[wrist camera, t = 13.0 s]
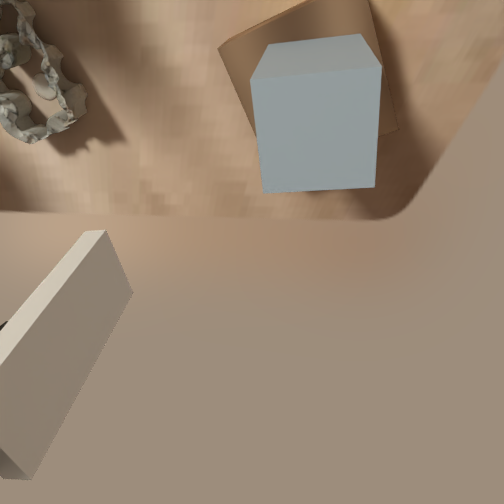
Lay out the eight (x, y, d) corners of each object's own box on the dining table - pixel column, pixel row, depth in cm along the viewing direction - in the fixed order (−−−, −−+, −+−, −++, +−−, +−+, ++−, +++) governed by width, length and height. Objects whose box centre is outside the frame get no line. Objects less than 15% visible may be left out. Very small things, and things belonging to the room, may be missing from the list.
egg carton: (102, 110, 36) (81, 125, 33) (40, 138, 39) (14, 154, 35) (23, -22, 31) (-11, -20, 28) (-43, 20, 33) (-82, 26, 30)
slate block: (276, 131, 30) (263, 193, 22) (268, 44, 27) (249, 79, 19) (357, 125, 29) (374, 187, 21) (360, 33, 26) (381, 66, 18)
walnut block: (277, 151, 36) (272, 174, 32) (229, 37, 32) (217, 48, 28) (388, 109, 33) (399, 129, 29) (355, -25, 28) (362, -23, 24)
